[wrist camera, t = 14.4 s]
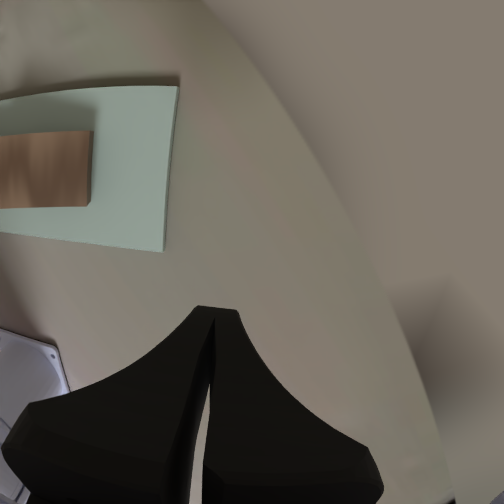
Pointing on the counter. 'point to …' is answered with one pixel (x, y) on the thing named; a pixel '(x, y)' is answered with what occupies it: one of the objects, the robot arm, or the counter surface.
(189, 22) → the counter surface
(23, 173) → the domino
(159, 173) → the board
